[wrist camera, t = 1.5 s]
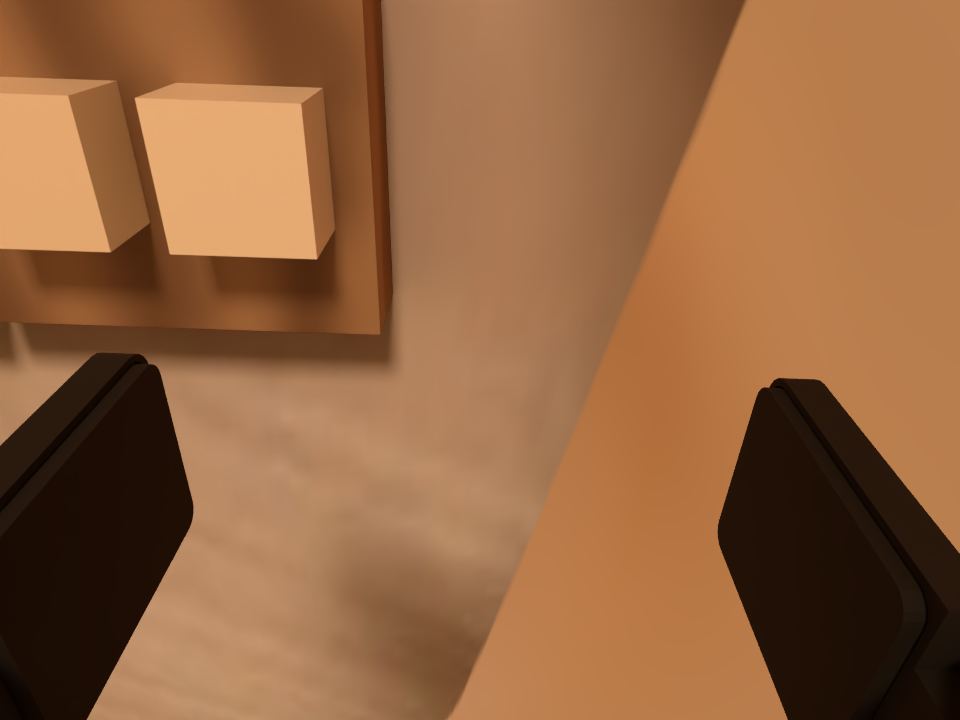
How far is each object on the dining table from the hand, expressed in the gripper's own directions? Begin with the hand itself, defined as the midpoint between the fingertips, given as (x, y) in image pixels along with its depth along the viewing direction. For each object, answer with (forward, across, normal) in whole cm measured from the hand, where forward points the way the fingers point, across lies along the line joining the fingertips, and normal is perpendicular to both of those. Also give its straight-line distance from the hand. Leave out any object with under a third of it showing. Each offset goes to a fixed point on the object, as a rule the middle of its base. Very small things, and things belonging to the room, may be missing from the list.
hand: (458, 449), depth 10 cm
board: (+20, +13, 0) cm, 24 cm away
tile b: (+16, +15, 0) cm, 22 cm away
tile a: (+16, +8, 0) cm, 18 cm away
